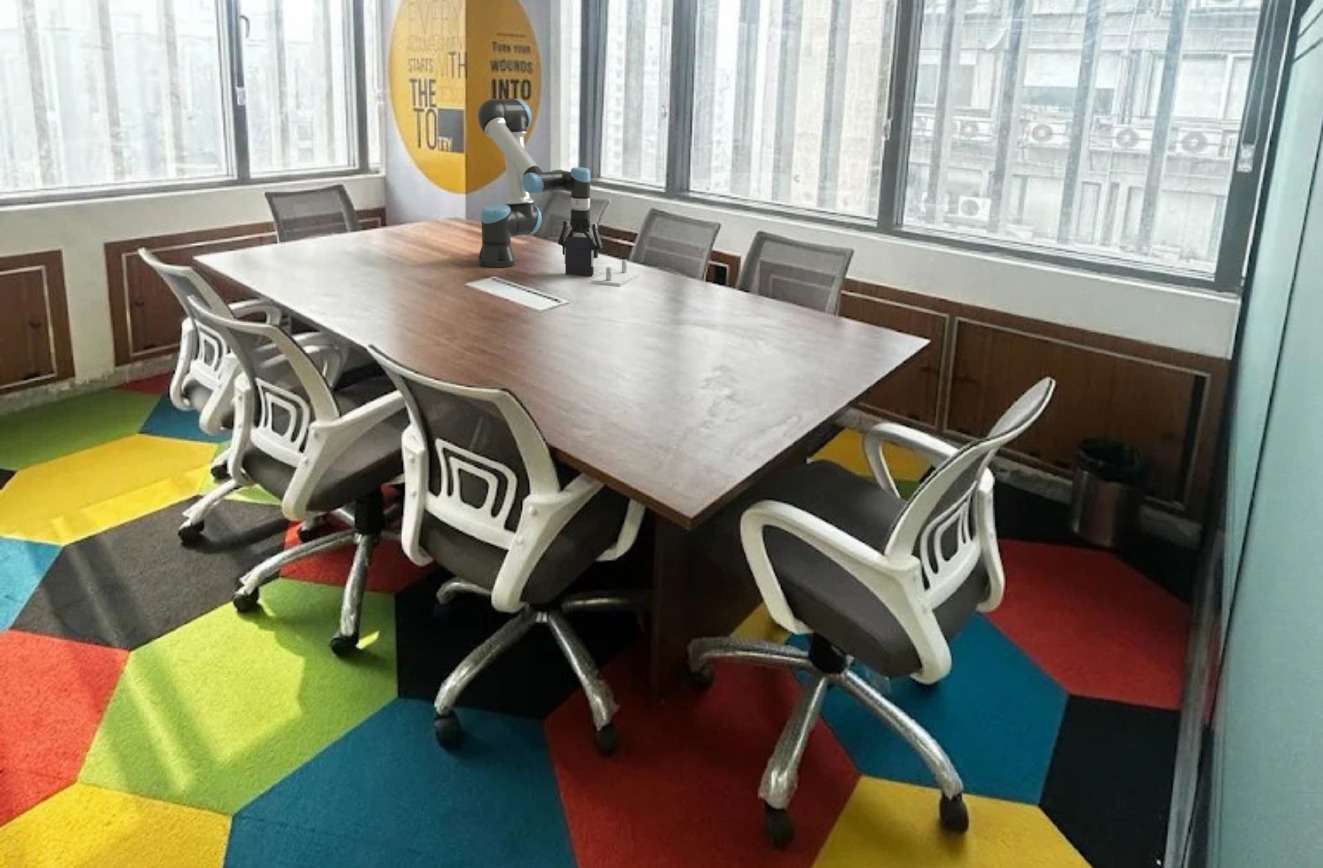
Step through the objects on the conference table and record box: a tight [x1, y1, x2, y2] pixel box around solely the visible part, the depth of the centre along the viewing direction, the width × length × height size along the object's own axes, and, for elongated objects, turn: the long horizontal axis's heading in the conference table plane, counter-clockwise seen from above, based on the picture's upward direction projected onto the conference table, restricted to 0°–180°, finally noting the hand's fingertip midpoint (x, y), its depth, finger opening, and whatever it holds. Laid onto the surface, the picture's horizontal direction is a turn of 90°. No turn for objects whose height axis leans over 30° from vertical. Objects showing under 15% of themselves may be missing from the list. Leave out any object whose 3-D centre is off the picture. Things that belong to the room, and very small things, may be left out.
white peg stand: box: [590, 259, 642, 287], centre depth 378 cm, size 12×22×6 cm, turn 160°
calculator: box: [564, 235, 595, 277], centre depth 382 cm, size 11×4×15 cm, turn 84°
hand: (580, 264), depth 383 cm, fingers open, 11 cm apart
